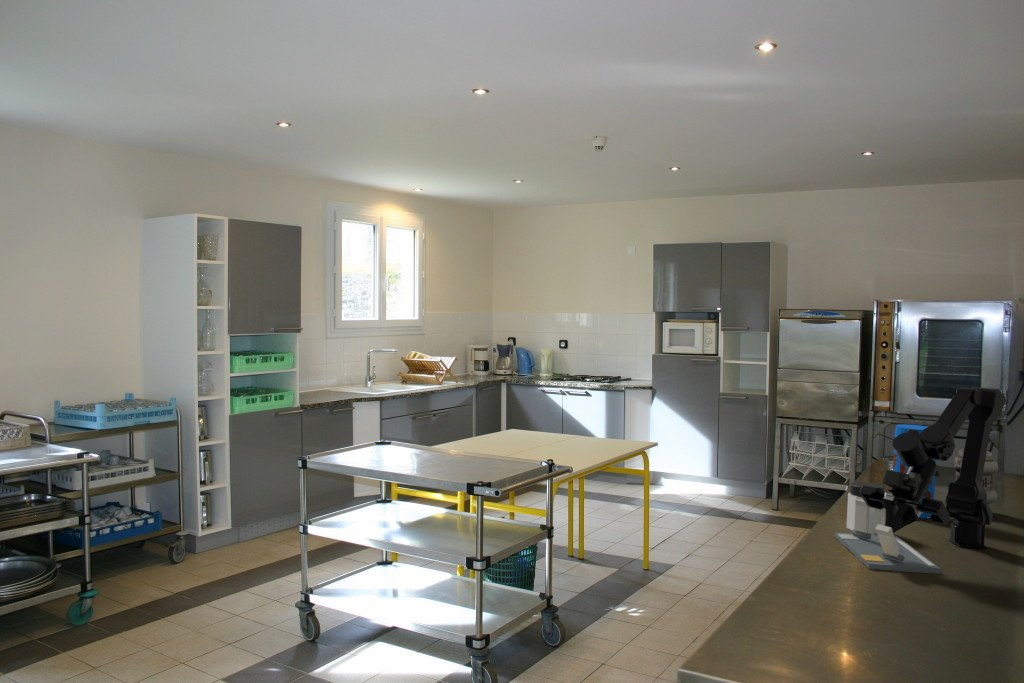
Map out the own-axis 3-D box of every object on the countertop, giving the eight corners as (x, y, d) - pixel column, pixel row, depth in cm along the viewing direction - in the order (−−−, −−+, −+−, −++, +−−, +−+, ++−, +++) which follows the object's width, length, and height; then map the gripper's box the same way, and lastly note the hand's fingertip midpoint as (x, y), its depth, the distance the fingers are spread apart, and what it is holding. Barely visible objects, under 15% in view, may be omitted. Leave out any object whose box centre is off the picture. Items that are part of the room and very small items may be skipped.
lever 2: (886, 553, 179) (875, 523, 176) (905, 558, 176) (894, 528, 173) (883, 557, 179) (872, 527, 176) (901, 563, 175) (890, 532, 172)
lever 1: (854, 534, 196) (856, 498, 196) (871, 538, 193) (873, 502, 192) (851, 535, 196) (853, 499, 195) (867, 539, 192) (869, 503, 192)
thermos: (929, 511, 229) (934, 426, 228) (936, 520, 219) (941, 431, 218) (888, 507, 233) (893, 423, 232) (893, 516, 222) (897, 428, 222)
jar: (869, 536, 200) (871, 490, 200) (840, 528, 207) (842, 483, 207) (889, 532, 205) (891, 486, 205) (860, 524, 212) (863, 480, 211)
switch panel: (897, 541, 197) (897, 535, 197) (940, 573, 172) (940, 567, 172) (835, 537, 199) (835, 531, 199) (868, 569, 174) (869, 562, 174)
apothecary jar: (951, 514, 226) (954, 452, 226) (945, 505, 238) (948, 446, 237) (1000, 520, 222) (1003, 456, 221) (992, 510, 233) (995, 450, 232)
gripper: (865, 450, 185) (835, 502, 180) (945, 464, 170) (915, 522, 164) (882, 479, 190) (854, 531, 184) (962, 496, 174) (933, 553, 169)
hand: (887, 533), depth 175 cm, fingers closed, pressing on lever 2
